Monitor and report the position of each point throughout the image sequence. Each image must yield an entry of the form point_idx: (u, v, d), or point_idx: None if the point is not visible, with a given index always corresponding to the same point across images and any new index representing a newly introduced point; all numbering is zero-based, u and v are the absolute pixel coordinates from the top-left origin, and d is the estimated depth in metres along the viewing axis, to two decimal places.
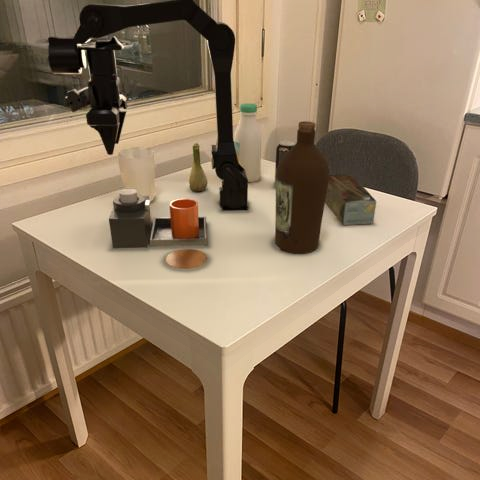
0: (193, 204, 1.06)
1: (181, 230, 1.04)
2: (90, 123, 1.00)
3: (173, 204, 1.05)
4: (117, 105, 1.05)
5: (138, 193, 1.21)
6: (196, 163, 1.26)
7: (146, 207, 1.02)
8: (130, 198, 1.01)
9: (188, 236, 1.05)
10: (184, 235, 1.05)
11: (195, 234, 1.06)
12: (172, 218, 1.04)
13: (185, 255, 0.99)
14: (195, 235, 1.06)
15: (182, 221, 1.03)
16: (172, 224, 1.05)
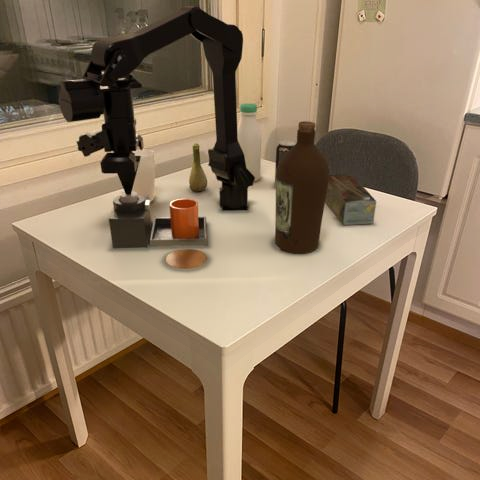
0: (193, 204, 1.06)
1: (181, 230, 1.04)
2: (105, 171, 0.90)
3: (173, 204, 1.05)
4: (134, 149, 0.95)
5: (138, 193, 1.21)
6: (196, 163, 1.26)
7: (146, 207, 1.02)
8: (131, 201, 1.01)
9: (188, 236, 1.05)
10: (184, 235, 1.05)
11: (195, 234, 1.06)
12: (172, 218, 1.04)
13: (185, 255, 0.99)
14: (195, 235, 1.06)
15: (182, 221, 1.03)
16: (172, 224, 1.05)
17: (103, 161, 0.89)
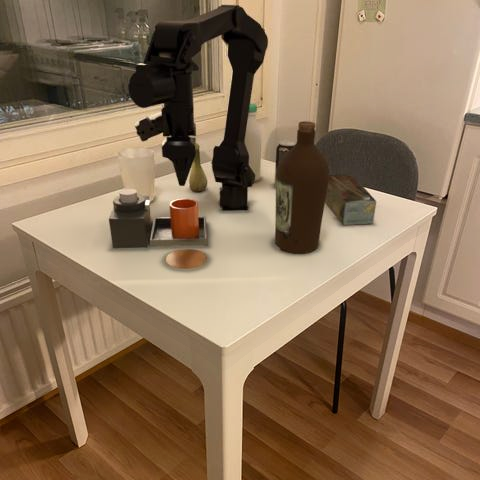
0: (193, 204, 1.06)
1: (181, 230, 1.04)
2: (166, 155, 0.89)
3: (173, 204, 1.05)
4: (192, 134, 0.94)
5: (138, 193, 1.21)
6: (196, 163, 1.26)
7: (146, 207, 1.02)
8: (130, 198, 1.01)
9: (188, 236, 1.05)
10: (184, 235, 1.05)
11: (195, 234, 1.06)
12: (172, 218, 1.04)
13: (185, 255, 0.99)
14: (195, 235, 1.06)
15: (182, 221, 1.03)
16: (172, 224, 1.05)
17: (165, 145, 0.88)
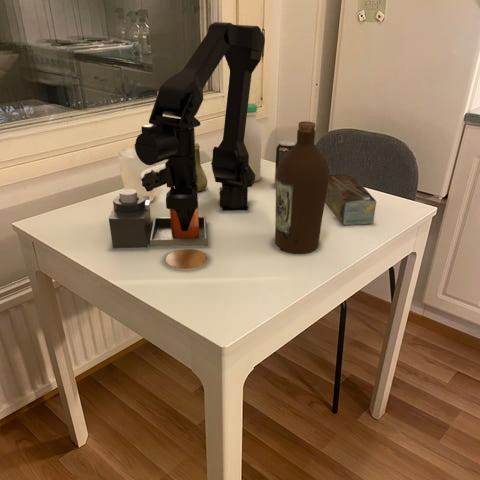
0: None
1: (181, 230, 1.04)
2: (170, 207, 0.95)
3: None
4: (194, 184, 0.99)
5: (138, 193, 1.21)
6: (196, 163, 1.26)
7: (146, 207, 1.02)
8: (130, 198, 1.01)
9: (188, 236, 1.05)
10: (184, 235, 1.05)
11: (195, 234, 1.06)
12: (172, 218, 1.04)
13: (185, 255, 0.99)
14: (195, 235, 1.06)
15: None
16: (172, 224, 1.05)
17: (169, 198, 0.94)
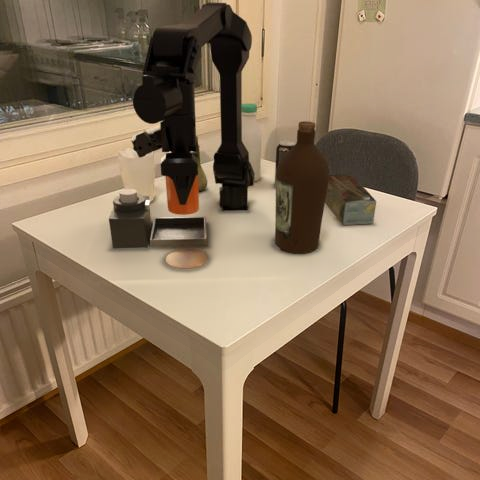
0: None
1: (178, 203, 0.90)
2: (165, 174, 0.81)
3: None
4: (194, 149, 0.86)
5: (138, 193, 1.21)
6: None
7: (146, 207, 1.02)
8: (130, 198, 1.01)
9: (187, 211, 0.91)
10: (182, 209, 0.91)
11: (195, 209, 0.92)
12: (168, 190, 0.90)
13: (185, 255, 0.99)
14: (195, 210, 0.93)
15: None
16: (168, 197, 0.91)
17: (164, 162, 0.80)
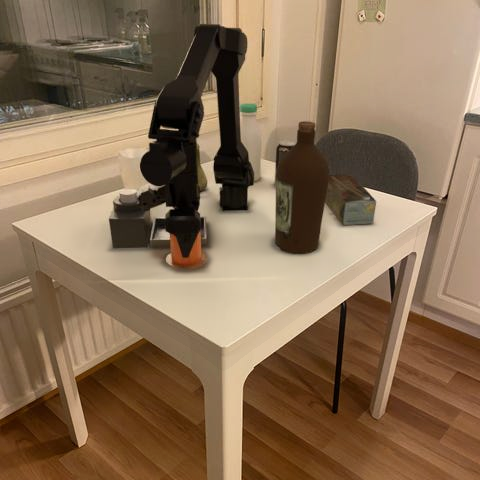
0: None
1: (181, 254, 0.94)
2: (169, 230, 0.84)
3: None
4: (197, 203, 0.89)
5: None
6: None
7: None
8: (130, 198, 1.01)
9: (190, 261, 0.95)
10: (185, 260, 0.95)
11: (197, 259, 0.96)
12: (172, 242, 0.94)
13: None
14: (197, 260, 0.96)
15: None
16: (172, 248, 0.95)
17: (168, 220, 0.84)
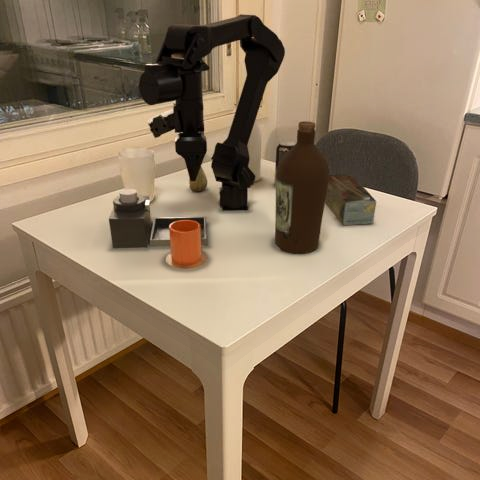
0: (195, 226, 0.96)
1: (181, 254, 0.94)
2: (179, 151, 0.95)
3: (173, 226, 0.95)
4: (202, 130, 0.99)
5: (138, 193, 1.21)
6: None
7: (146, 207, 1.02)
8: (130, 198, 1.01)
9: (190, 261, 0.95)
10: (185, 260, 0.95)
11: (197, 259, 0.96)
12: (172, 242, 0.94)
13: None
14: (197, 260, 0.96)
15: (183, 245, 0.93)
16: (172, 248, 0.95)
17: (178, 141, 0.94)
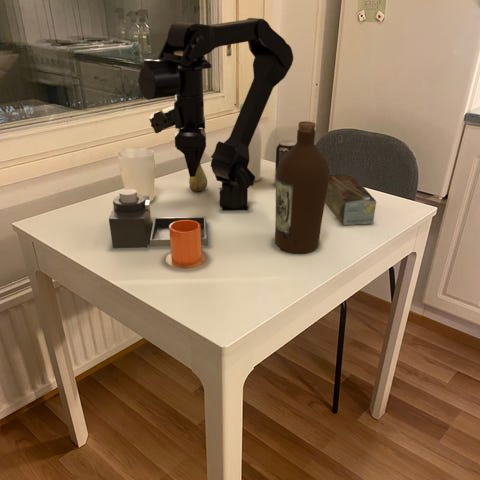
0: (195, 226, 0.96)
1: (181, 254, 0.94)
2: (179, 146, 0.96)
3: (173, 226, 0.95)
4: (202, 126, 1.01)
5: (138, 193, 1.21)
6: None
7: (146, 207, 1.02)
8: (130, 198, 1.01)
9: (190, 261, 0.95)
10: (185, 260, 0.95)
11: (197, 259, 0.96)
12: (172, 242, 0.94)
13: None
14: (197, 260, 0.96)
15: (183, 245, 0.93)
16: (172, 248, 0.95)
17: (177, 136, 0.95)
